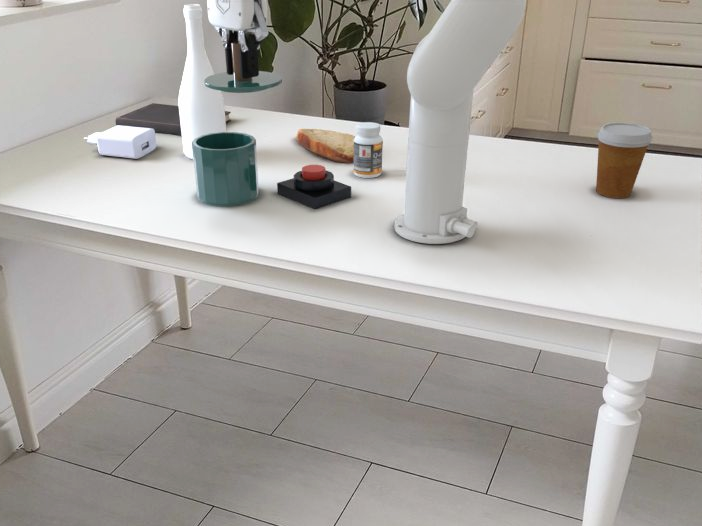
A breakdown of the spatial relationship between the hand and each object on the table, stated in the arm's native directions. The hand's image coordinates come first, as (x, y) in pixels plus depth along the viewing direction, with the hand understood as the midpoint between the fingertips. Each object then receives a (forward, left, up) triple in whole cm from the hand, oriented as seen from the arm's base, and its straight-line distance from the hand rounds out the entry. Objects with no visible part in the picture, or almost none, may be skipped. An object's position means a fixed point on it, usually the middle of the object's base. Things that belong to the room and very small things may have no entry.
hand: (242, 74), depth 120 cm
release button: (+1, -15, -21) cm, 26 cm away
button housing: (+1, -15, -24) cm, 29 cm away
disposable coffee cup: (-36, -58, -25) cm, 73 cm away
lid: (0, 0, -1) cm, 1 cm away
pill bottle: (+3, -31, -25) cm, 40 cm away
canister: (+12, -3, -24) cm, 27 cm away
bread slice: (+21, -36, -25) cm, 49 cm away
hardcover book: (+62, -22, -25) cm, 70 cm away
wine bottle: (+36, -14, -25) cm, 46 cm away
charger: (+52, -1, -25) cm, 58 cm away
